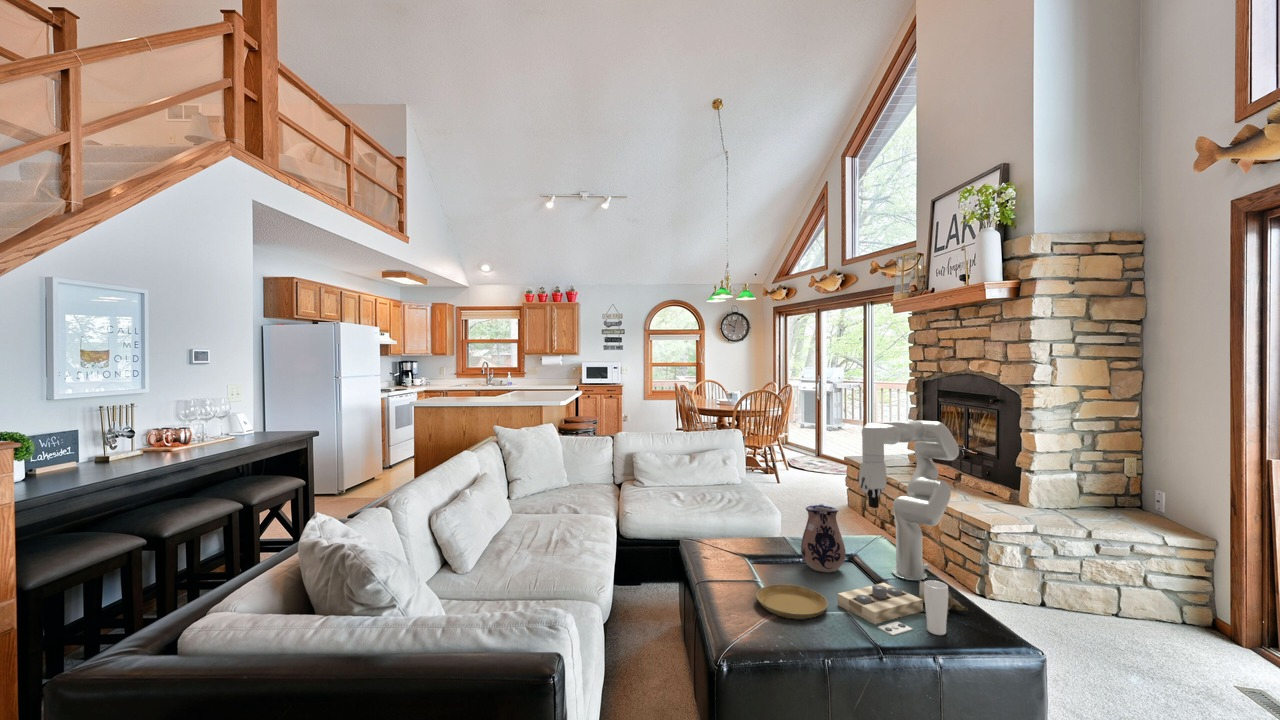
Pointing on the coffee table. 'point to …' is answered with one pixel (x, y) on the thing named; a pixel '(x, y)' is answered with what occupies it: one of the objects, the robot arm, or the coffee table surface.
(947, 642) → the coffee table surface
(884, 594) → the middle button
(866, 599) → the button
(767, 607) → the plant saucer
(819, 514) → the ceramic pitcher
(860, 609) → the button board
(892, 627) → the pattern card
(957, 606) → the ceramic sculpture
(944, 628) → the drinking glass
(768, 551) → the coffee table surface
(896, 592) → the button
